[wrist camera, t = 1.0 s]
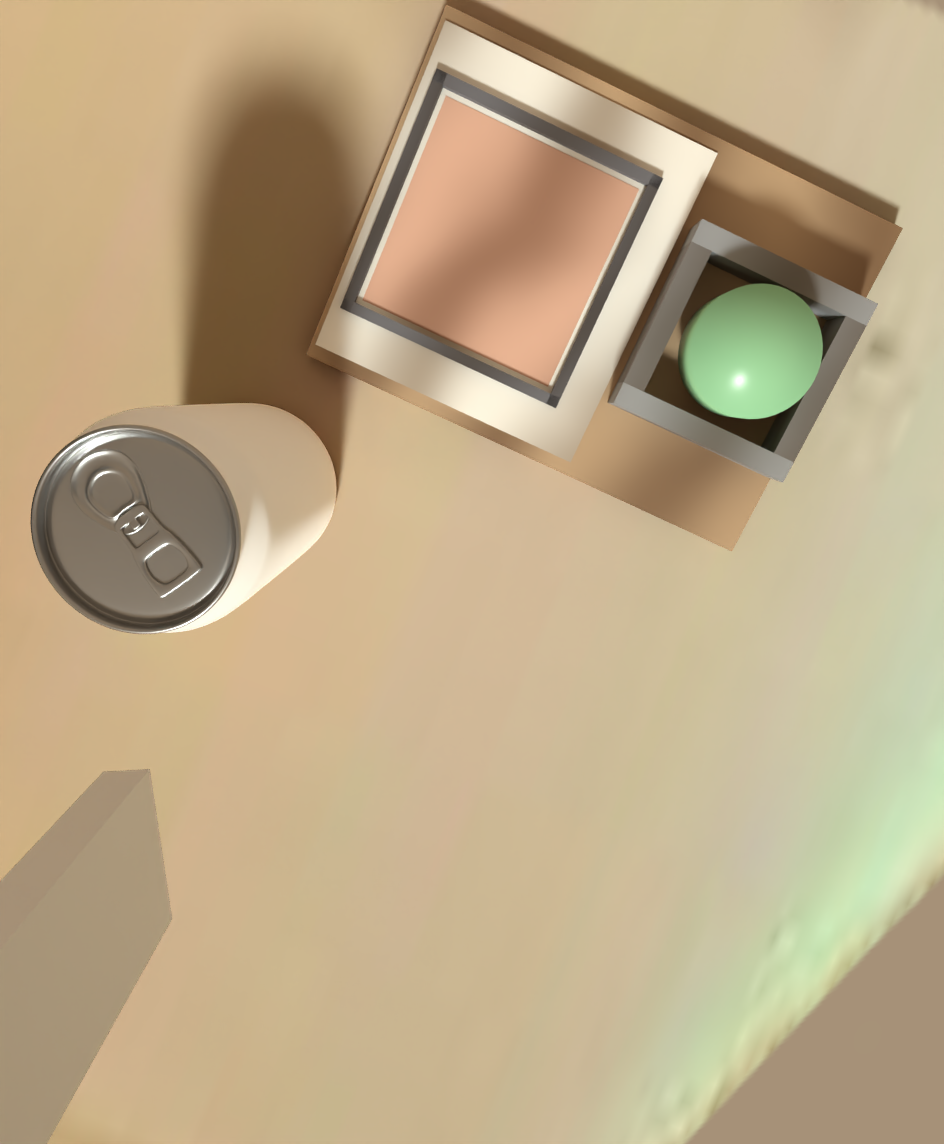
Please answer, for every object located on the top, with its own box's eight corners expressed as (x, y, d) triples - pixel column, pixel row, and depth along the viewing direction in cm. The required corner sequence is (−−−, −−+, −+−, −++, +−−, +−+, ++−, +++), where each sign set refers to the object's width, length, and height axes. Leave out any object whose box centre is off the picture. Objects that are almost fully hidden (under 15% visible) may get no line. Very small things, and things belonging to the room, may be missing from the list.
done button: (656, 386, 31) (666, 385, 29) (713, 269, 30) (728, 260, 28) (764, 437, 31) (782, 440, 30) (825, 322, 31) (847, 318, 29)
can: (272, 368, 34) (150, 356, 22) (371, 504, 35) (306, 562, 23) (145, 465, 35) (-37, 502, 23) (245, 594, 36) (119, 694, 24)
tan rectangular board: (310, 355, 33) (295, 352, 31) (447, 14, 31) (442, -20, 28) (726, 547, 34) (744, 560, 32) (892, 232, 32) (927, 218, 29)
